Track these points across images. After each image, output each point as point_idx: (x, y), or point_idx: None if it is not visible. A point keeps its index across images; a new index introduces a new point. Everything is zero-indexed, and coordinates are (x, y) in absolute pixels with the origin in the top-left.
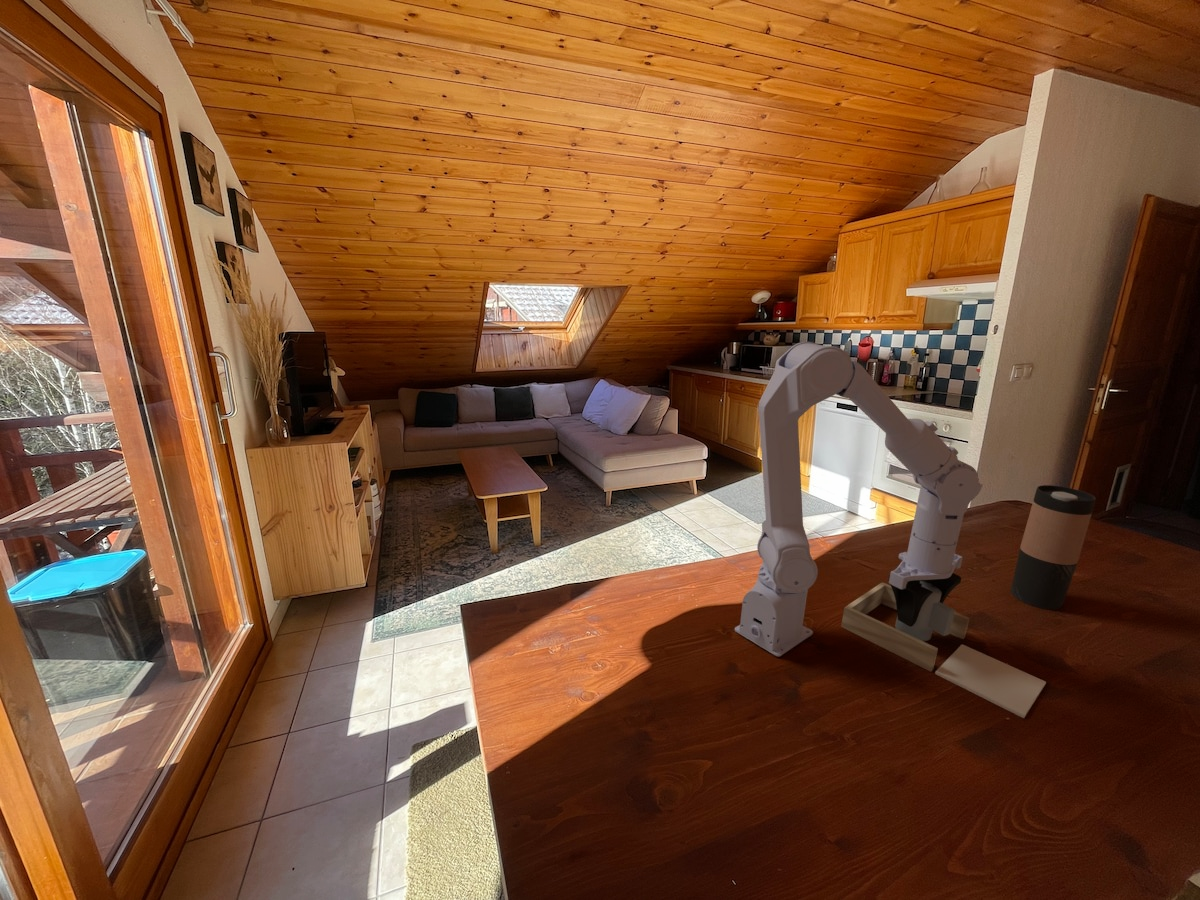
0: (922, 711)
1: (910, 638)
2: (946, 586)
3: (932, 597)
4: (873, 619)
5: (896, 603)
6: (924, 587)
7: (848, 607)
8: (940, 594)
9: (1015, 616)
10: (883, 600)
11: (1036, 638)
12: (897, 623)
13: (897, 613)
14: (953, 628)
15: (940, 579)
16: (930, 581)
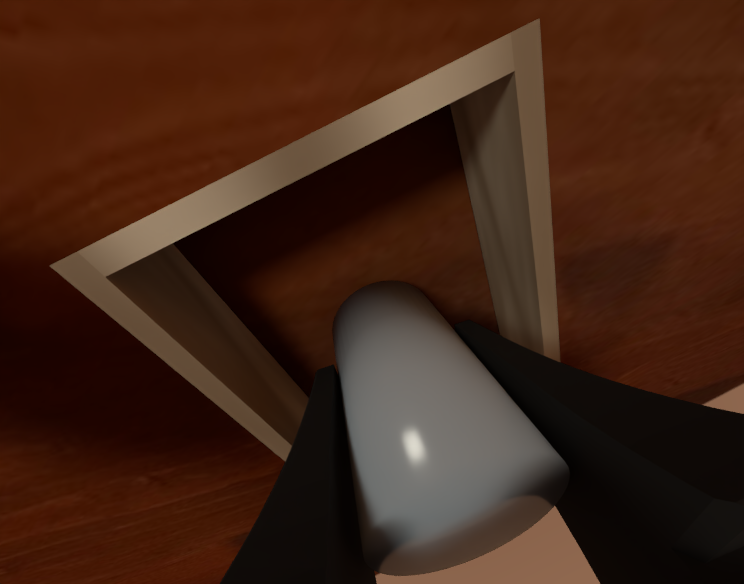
0: (209, 504)
1: (280, 455)
2: (587, 549)
3: (431, 571)
4: (195, 371)
5: (297, 437)
6: (492, 511)
7: (84, 269)
8: (499, 545)
9: (706, 267)
10: (459, 103)
11: (635, 339)
12: (338, 329)
13: (312, 390)
14: (508, 325)
15: (627, 571)
16: (591, 483)
